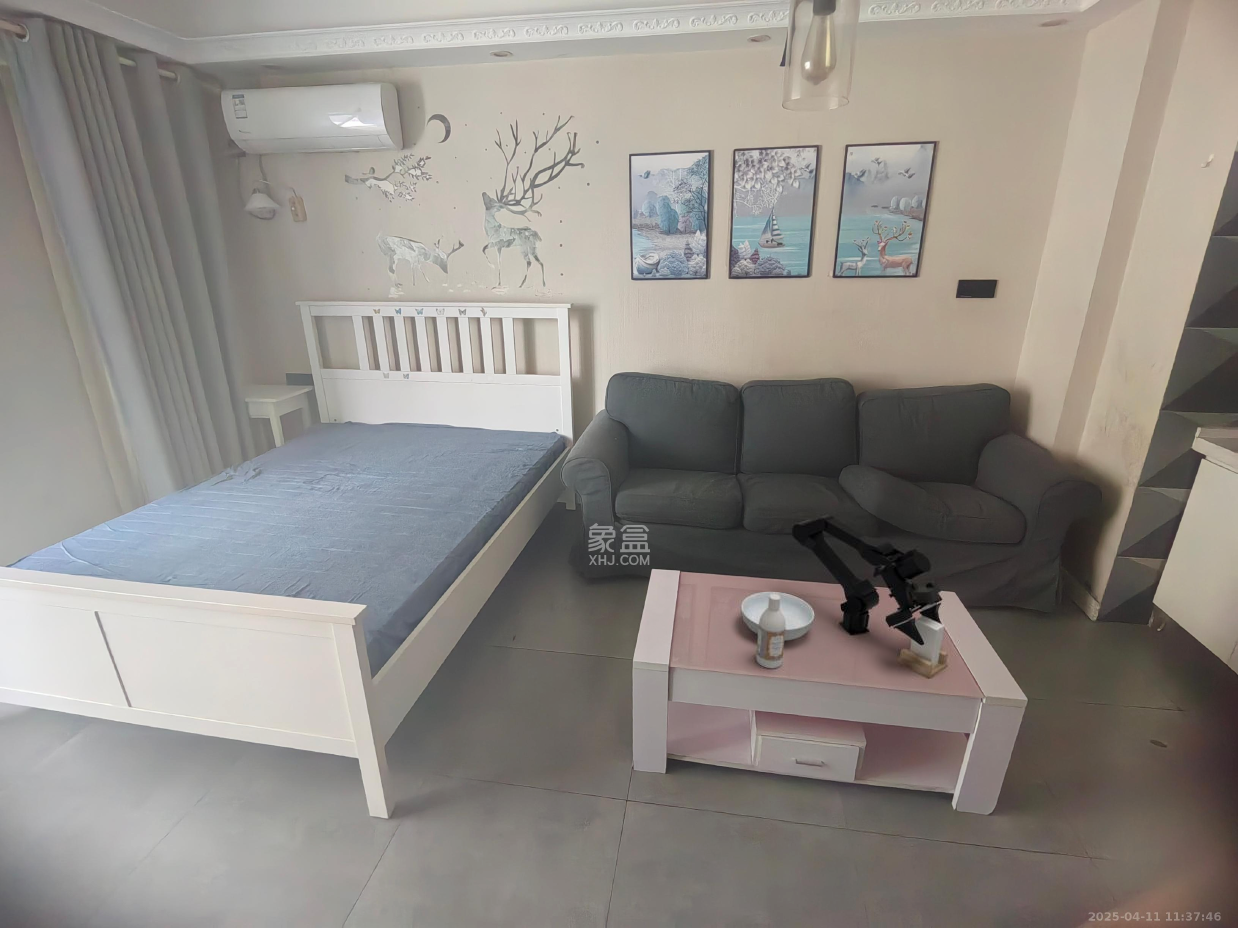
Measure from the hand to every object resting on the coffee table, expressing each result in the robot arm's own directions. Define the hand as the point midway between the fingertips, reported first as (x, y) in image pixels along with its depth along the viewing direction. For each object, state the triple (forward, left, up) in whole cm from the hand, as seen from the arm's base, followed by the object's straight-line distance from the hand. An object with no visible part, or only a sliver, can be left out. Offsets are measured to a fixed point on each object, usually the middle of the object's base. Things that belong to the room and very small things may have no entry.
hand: (932, 638), depth 163 cm
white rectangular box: (-1, +1, -8) cm, 8 cm away
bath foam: (-41, +12, -9) cm, 43 cm away
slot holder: (-1, +1, -9) cm, 9 cm away
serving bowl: (-32, +26, -9) cm, 42 cm away
